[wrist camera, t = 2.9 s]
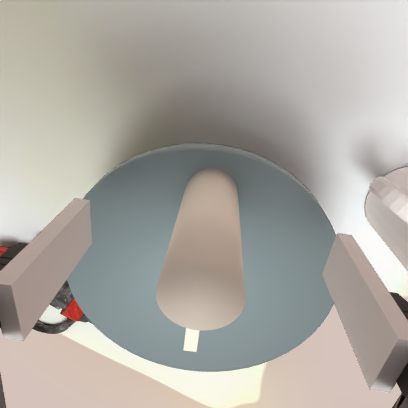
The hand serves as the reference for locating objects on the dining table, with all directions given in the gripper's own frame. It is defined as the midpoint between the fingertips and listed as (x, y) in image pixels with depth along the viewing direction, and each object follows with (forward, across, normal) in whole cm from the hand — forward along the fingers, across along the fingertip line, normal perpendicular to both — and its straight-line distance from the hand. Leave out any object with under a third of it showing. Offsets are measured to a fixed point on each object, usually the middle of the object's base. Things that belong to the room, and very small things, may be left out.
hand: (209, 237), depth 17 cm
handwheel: (+7, 0, -8) cm, 11 cm away
